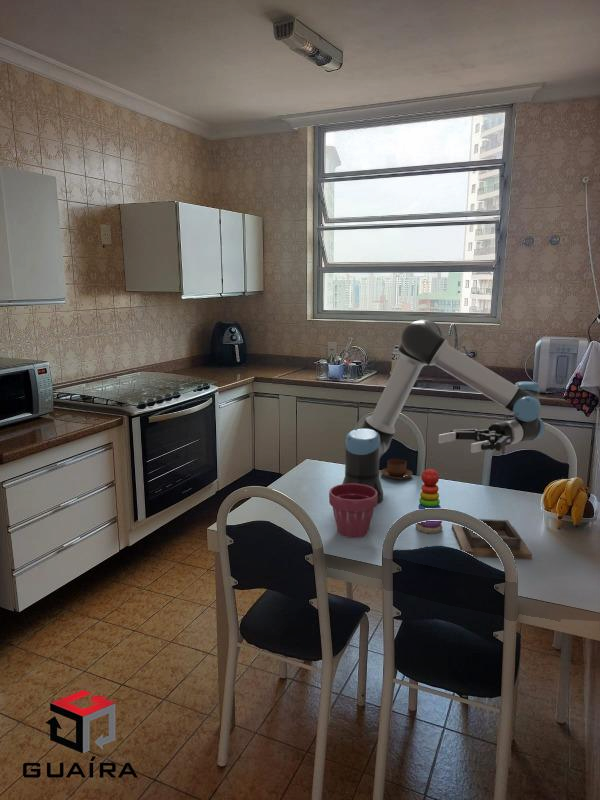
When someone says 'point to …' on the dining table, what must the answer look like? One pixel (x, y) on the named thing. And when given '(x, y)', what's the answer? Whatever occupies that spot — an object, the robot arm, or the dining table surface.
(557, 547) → the dining table surface
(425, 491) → the stacking toy
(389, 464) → the cup and saucer
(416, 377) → the robot arm
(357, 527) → the plant pot
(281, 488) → the dining table surface
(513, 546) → the wooden divided tray
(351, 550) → the dining table surface
